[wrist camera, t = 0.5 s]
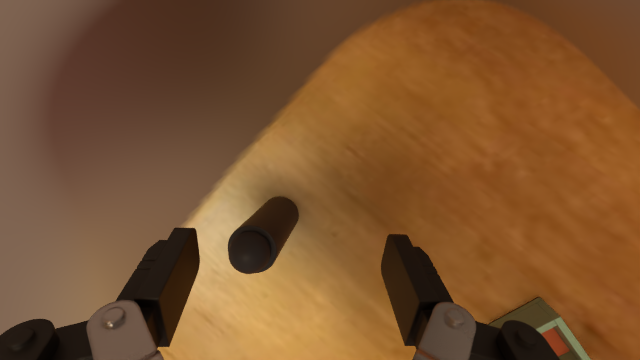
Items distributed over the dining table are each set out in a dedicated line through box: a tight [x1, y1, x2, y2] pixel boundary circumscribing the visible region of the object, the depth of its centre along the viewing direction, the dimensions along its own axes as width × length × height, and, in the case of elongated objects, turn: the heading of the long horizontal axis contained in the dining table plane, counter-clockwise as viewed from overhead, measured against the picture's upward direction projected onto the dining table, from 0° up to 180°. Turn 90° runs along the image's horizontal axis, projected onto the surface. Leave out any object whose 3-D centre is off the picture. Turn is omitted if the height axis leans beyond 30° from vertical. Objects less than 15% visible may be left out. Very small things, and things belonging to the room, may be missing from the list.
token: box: [228, 197, 299, 274], centre depth 25 cm, size 4×4×10 cm
